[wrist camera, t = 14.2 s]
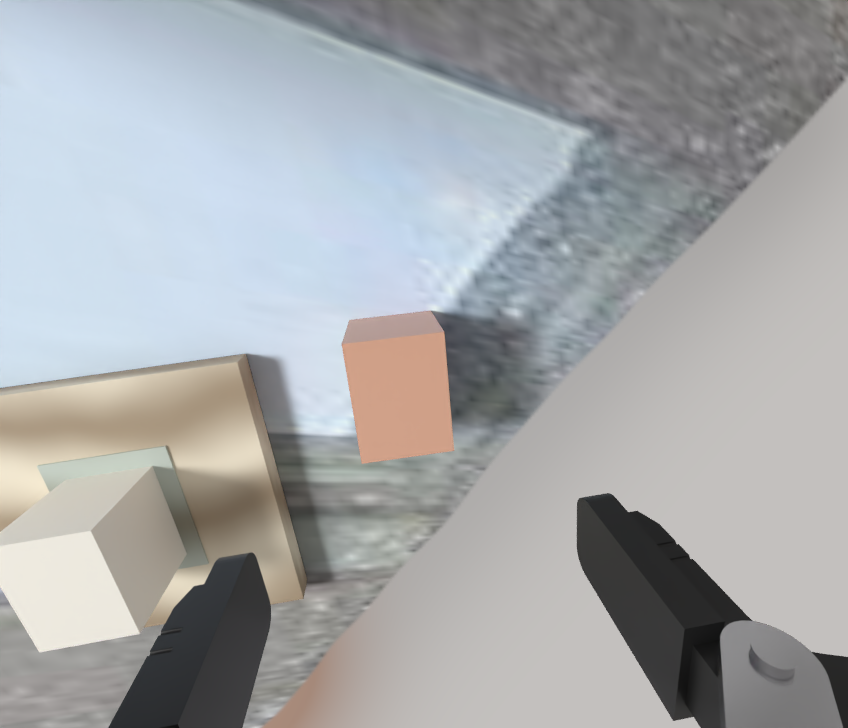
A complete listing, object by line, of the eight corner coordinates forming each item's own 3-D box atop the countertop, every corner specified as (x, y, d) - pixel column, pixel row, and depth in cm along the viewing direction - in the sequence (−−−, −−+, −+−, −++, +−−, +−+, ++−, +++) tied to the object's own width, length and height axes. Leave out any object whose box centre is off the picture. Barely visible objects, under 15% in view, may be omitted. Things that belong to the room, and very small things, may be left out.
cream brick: (64, 479, 22) (-23, 549, 17) (152, 465, 22) (90, 530, 17) (107, 567, 24) (39, 652, 19) (186, 553, 24) (140, 633, 19)
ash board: (-68, 397, 21) (-103, 410, 20) (245, 353, 22) (236, 362, 21) (57, 623, 26) (38, 648, 25) (307, 579, 27) (303, 600, 26)
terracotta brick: (349, 319, 22) (341, 344, 18) (430, 310, 23) (444, 331, 18) (364, 418, 24) (361, 463, 20) (439, 408, 25) (453, 450, 20)
